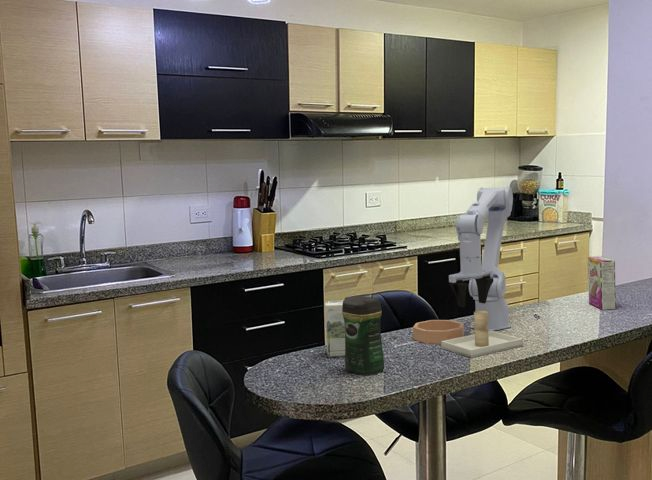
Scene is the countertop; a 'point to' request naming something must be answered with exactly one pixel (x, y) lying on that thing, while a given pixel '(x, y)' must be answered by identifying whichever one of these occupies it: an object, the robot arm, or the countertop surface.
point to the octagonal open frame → (437, 331)
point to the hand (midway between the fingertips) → (472, 304)
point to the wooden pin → (481, 328)
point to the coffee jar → (363, 335)
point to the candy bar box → (601, 282)
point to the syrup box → (335, 328)
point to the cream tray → (469, 349)
